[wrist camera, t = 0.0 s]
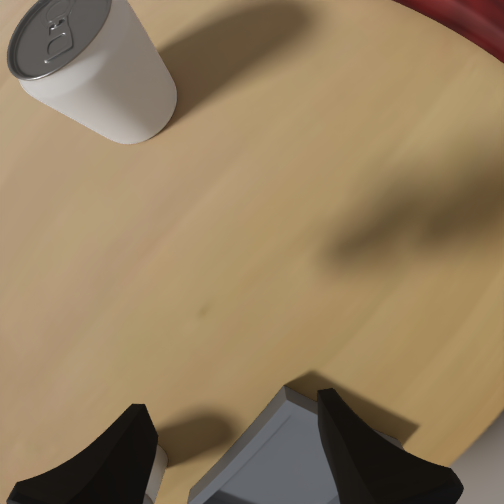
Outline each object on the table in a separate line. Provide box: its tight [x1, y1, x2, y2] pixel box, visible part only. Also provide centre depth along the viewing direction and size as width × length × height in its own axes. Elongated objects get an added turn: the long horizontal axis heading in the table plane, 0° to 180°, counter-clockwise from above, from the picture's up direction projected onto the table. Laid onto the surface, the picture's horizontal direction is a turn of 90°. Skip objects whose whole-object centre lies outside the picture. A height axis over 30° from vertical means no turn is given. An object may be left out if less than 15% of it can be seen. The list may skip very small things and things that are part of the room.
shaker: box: [143, 444, 168, 504], centre depth 20 cm, size 5×5×7 cm
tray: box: [187, 385, 405, 504], centre depth 23 cm, size 15×13×2 cm
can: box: [7, 0, 177, 144], centre depth 15 cm, size 6×6×12 cm
